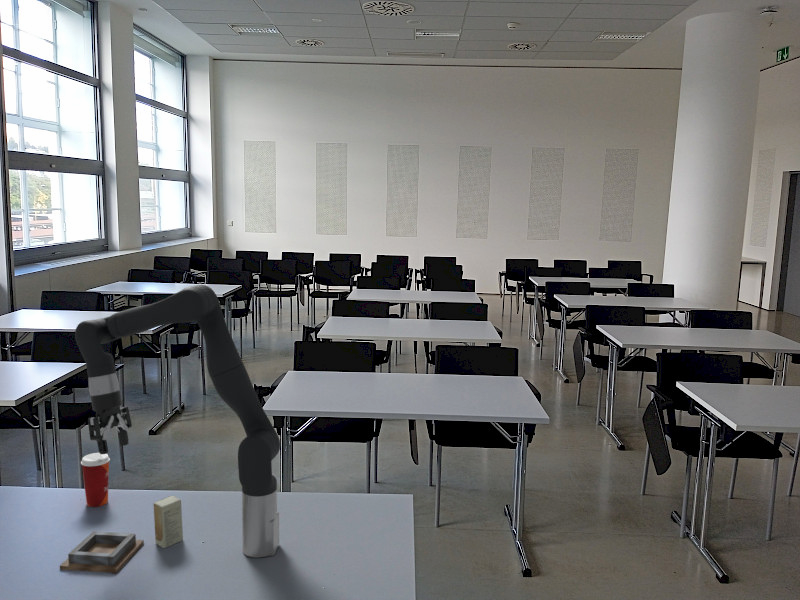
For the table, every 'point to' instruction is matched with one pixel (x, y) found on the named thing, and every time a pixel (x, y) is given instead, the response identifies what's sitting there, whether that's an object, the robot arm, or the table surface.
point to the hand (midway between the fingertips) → (114, 449)
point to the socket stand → (102, 552)
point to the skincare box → (168, 521)
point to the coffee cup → (96, 478)
